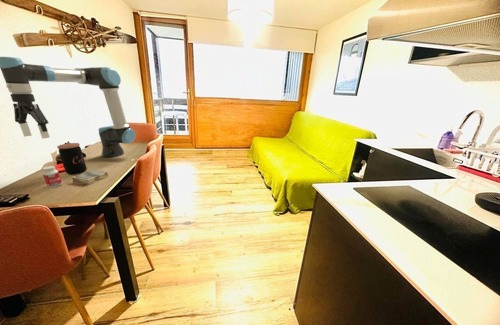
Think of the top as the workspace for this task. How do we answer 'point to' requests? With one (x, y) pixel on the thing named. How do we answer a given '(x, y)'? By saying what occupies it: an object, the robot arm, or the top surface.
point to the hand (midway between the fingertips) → (36, 137)
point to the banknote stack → (90, 177)
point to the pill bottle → (51, 177)
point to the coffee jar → (72, 158)
